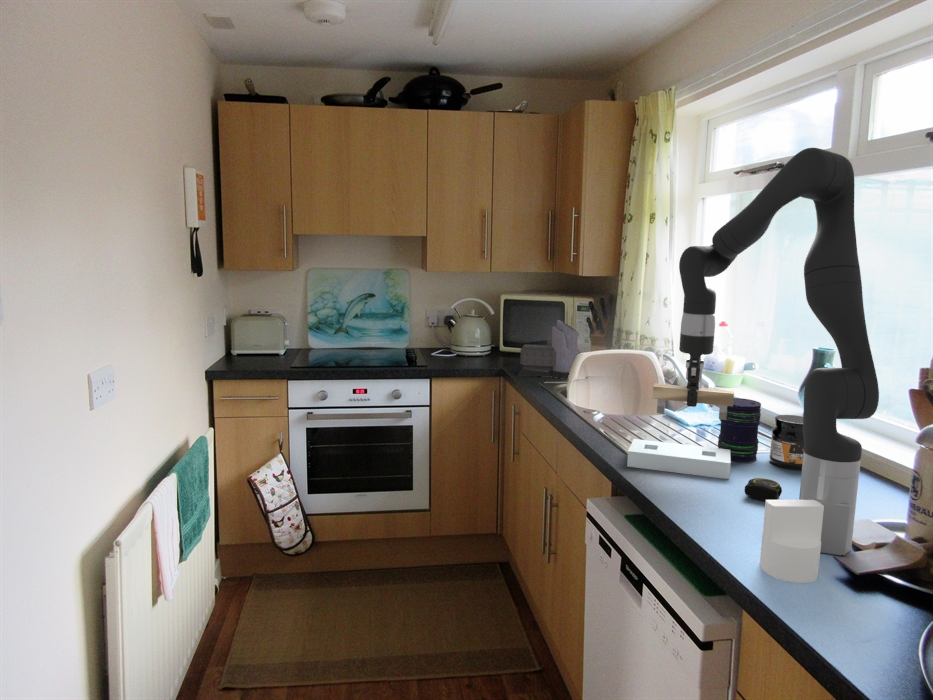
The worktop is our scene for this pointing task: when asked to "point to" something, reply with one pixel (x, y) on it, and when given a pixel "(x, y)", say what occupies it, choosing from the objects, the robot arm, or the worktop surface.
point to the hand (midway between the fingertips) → (691, 403)
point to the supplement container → (787, 442)
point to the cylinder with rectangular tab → (792, 539)
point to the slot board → (680, 458)
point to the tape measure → (763, 489)
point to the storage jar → (741, 430)
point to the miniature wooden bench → (703, 396)
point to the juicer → (551, 354)
